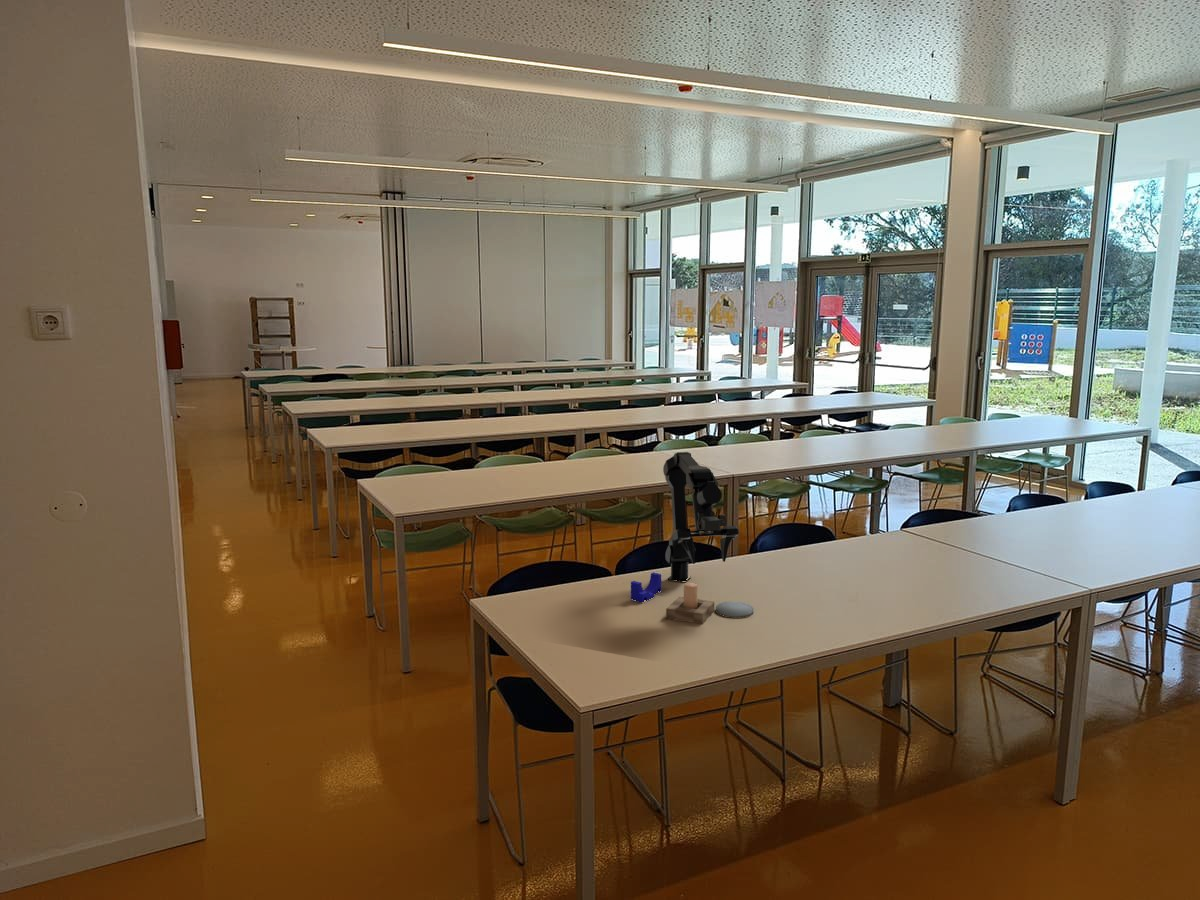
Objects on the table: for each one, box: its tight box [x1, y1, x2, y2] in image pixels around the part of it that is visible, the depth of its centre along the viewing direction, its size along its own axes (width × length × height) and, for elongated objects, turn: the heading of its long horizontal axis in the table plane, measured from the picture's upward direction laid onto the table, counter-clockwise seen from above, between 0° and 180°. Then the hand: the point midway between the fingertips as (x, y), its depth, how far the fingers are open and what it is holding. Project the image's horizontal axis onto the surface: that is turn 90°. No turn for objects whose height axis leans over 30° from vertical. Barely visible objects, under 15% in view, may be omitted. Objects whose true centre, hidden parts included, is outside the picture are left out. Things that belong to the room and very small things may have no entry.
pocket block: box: [665, 596, 715, 625], centre depth 238 cm, size 11×11×3 cm
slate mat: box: [715, 601, 754, 619], centre depth 240 cm, size 11×11×1 cm
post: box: [683, 582, 699, 609], centre depth 237 cm, size 4×4×9 cm
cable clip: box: [630, 572, 662, 603], centre depth 254 cm, size 12×4×6 cm, turn 141°
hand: (709, 562), depth 238 cm, fingers open, 9 cm apart
